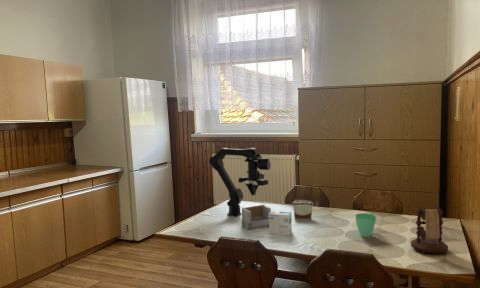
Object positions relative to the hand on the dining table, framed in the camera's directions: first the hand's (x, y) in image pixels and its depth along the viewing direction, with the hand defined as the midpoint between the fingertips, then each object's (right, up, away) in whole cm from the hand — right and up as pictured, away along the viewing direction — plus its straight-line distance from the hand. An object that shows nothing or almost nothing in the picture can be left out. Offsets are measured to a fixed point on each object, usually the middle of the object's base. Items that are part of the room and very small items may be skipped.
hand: (253, 195), depth 224 cm
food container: (+29, -13, -3) cm, 32 cm away
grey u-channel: (+1, -15, -18) cm, 23 cm away
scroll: (+76, -17, -57) cm, 96 cm away
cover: (0, -14, -15) cm, 20 cm away
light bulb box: (+13, -16, -29) cm, 36 cm away
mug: (+56, -15, -34) cm, 67 cm away
